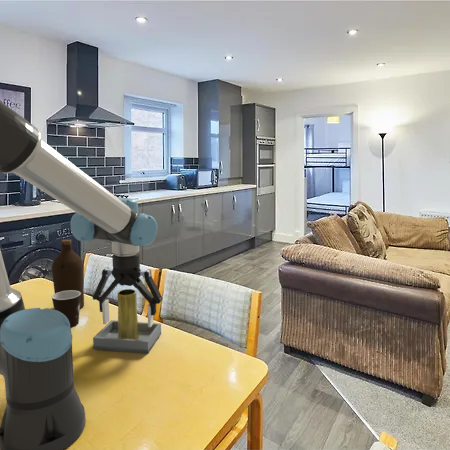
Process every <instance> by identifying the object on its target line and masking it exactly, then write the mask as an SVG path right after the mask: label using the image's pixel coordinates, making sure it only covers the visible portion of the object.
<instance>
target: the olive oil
mask: <svg viewBox="0 0 450 450" xmlns="http://www.w3.org/2000/svg"><path fill="white" fill-rule="evenodd" d="M51 274H52V282H53V283H52V284H53V289H54V291H53V292H54V294H55V293H58V292H61V291H68V290H74V291H79V292H80V293H81V296H80V310H81V309H83V308H84V307H85V291H84V289H85V288H84V287H85V283H84V281H85V266H84V262H83V259H82V258H81V257H80V255H78V254H77V253H76V252H74V250H73V245H72V239H71V238H70V239H62V240H61V251H60V253H59V254H58V255H56V257H55V258H54V259H53V261H52V264H51Z"/></svg>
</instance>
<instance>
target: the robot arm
mask: <svg viewBox="0 0 450 450" xmlns="http://www.w3.org/2000/svg"><path fill="white" fill-rule="evenodd" d="M0 172H1V173H2V174H12V173H13V174H15V175H16V176H18V177H20V178H21V179H22V180H25V181H26V182H28V183H30V184H31V185H32V186H34V187H35V188H37V189H39V190H41V192H43V193H45V194H46V195H48V196H50V197H51V198H52V199H54V200H56V201H58V202H59V203H61V204H62V205H64V206H66V207H67V208H69V209H70V210H72V211H73V212H74V214H73V215H72V217H71V219H70V231H71V233H72V236H73V237H74V238H75V239H76V240H77V241H79V242H88V241H89V242H92V241H93V240H101V241H105V242H111V252H112V253H113V254H112V255H111V256H112V269H111V268H110V267H106V268H104V269H102V270H101V278H100V279H99V282H98V285H97V286H96V288H95V290H94V293H93V296H92V297H91V298H92V300H94V301H95V300H96V301H98V302H99V312H100V313H102V325H107V324H108V323H109V322H110V300H109V299H107V298H108V297H109V295H110V294H111V293H112V292H113V291H114V289H116V287H117V286H118V285H120V286H123V287H124V286H129V287H132V286H133V287H134V288H135V289H136V290H138V292H139V294H141V296H143V297H144V299H145V300H146V301H147V302H148V305H147V323H148V327H151V326H152V325H153V323H154V316H155V315H156V314H157V304H158V305H159V304H160V303H161V302H162V301H163V296H162V294H161V292H160V291H159V288H158V286H157V284H156V282H155V280H154V279H153V275H152V270H151V269H147V270H141V262H140V261H141V260H140V259H141V258H140V257H141V256H140V253H139V252H140V247H147V246H150V245H151V244H153V242H154V241H155V239H156V237H157V234H158V223H157V220H156V219H155V217H153V216H152V215H149V214H146V213H140V212H139V203H138V200H136V199H134V198H126V197H125V198H118V197H117V196H116V195H114V194H113V193H112V192H110V191H109V190H108V189H106V188H105V187H104V186H102V185H101V184H100V183H99V182H97V181H96V180H95V179H93V177H91V176H90V175H88V174H87V173H85V172H84V171H83V170H82V169H80V168H79V167H78V166H76V165H75V164H74V163H72V161H70V160H69V159H68V158H66V157H65V156H64V155H62V154H61V153H60V152H58V151H57V150H56V149H54V148H53V147H52V146H51V145H49V144H48V143H47V142H45V141H44V140H43V139H42V137H41V131H40V130H39V129H38V128H37V127H36V126H35V125H33V124H32V123H31V122H29V121H28V120H27V119H25V117H23V116H22V115H20V114H19V113H17V112H16V111H15V110H13V108H11V107H9V106H8V105H7V104H5V103H3V102H2V101H0ZM110 276H112V277H113V278H114V280H113V281H112V282H111V284H110V285H109V286H108V287H107V288H106V290H104V288H105V286H106V284H107V282H108V279H109V277H110ZM141 276H142V278H143V279H144V280H145V283H146V285H147V287H146V285H145V284H144V283H143V280H142V279H141V278H140V277H141ZM103 290H104V292H103ZM71 328H72V327H71ZM71 328H70V323H69V320H68V318H67V317H66V316H65V315H64V314H63V313H61V312H59V311H57V310H54V308H53V309H52V308H48V307H46V308H41V307H32V308H26V307H25V302H24V299H23V295H22V293H21V291H19V290H17V289H15V288H13V287H11V283H10V281H9V277H8V273H7V269H6V266H5V262H4V258H3V255H2V251H1V249H0V375H1V376H3V379H4V388H5V399H6V405H5V409H4V411H3V416H2V420H1V421H0V450H65V449H67V448H68V447H70V446H71V445H72V444H73V443H75V441H76V440H78V439H79V437H80V436H81V434H83V431H84V430H85V427H86V422H87V421H86V420H87V419H86V410H85V407H84V405H83V403H82V401H81V399H80V396H79V395H78V392H77V391H76V388H75V378H74V376H75V375H74V364H73V363H74V359H73V333H72V329H71Z"/></svg>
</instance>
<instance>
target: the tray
mask: <svg viewBox="0 0 450 450" xmlns="http://www.w3.org/2000/svg"><path fill="white" fill-rule="evenodd" d="M138 333H139V338H138V339H137V340H136V339H122V338H118V320H116V319H115V320H114V319H113V320H109V321H108V322H107V323H106V324H105V326H104V327H103V328H101V329H100V331H98V332H97V333H96V335H94V336H93V337H92V343H93V350H97V351H108V352H109V351H110V352H111V351H112V352H122V353H137V354H148V355H149V353H150V352H151V350H152V349H153V347H154V346H155V344H157V343H156V342H157V341H158V340H159V338H160V337H161V336H162V323H158V322H157V323H156V322H153V325H152V326H151V327H148V322H145V321H144V322H143V321H138Z"/></svg>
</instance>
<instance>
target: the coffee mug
mask: <svg viewBox="0 0 450 450" xmlns="http://www.w3.org/2000/svg"><path fill="white" fill-rule="evenodd" d="M80 296H81V293H80V292H79V291H74V290H68V291H61V292H58V293H55V292H54V293H53V294H52V295H51V300H52V306H53V309H54V310H57V311H59V312H61V313H63V314H64V315H65V316H66V317H67V318H68V320H69V323H70V328H74V327H76V326H78V325H79V323H80V322H79V321H80V310H81V309H80Z"/></svg>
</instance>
